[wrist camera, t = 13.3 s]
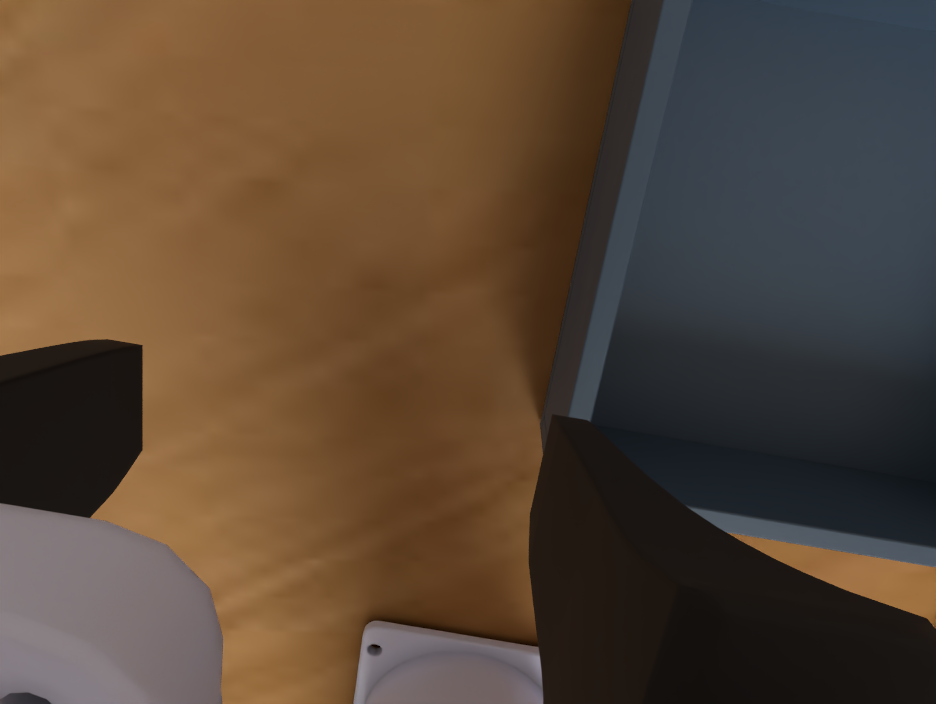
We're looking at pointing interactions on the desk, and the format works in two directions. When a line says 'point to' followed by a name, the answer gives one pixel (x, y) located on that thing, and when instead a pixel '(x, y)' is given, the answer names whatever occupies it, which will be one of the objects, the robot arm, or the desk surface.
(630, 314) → the bin
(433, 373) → the desk surface
